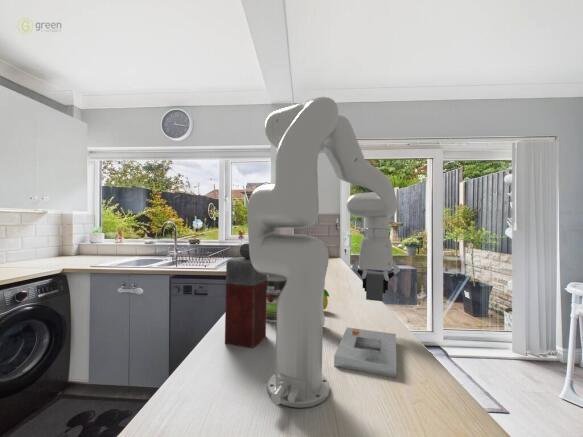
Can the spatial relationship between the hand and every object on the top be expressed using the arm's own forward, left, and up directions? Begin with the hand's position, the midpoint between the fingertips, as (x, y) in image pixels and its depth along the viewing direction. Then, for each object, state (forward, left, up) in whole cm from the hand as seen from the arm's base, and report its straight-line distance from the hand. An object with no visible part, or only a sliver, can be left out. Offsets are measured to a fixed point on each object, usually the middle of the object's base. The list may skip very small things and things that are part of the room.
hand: (375, 291), depth 90 cm
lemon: (+14, +21, -13) cm, 28 cm away
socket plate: (-16, +1, -13) cm, 21 cm away
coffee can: (+1, +35, -13) cm, 37 cm away
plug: (+1, 0, -2) cm, 3 cm away
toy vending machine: (-19, +35, -13) cm, 42 cm away
